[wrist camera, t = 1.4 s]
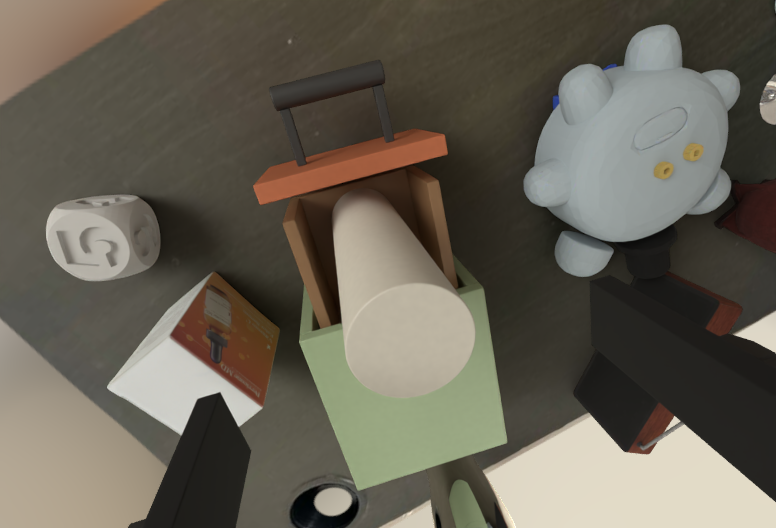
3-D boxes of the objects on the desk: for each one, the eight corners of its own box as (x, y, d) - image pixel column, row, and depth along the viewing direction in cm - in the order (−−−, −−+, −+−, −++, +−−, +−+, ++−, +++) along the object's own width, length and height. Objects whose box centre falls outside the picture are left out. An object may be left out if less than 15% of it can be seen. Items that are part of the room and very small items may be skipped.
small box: (281, 328, 36) (267, 409, 26) (236, 364, 36) (206, 456, 27) (213, 268, 33) (168, 334, 23) (166, 308, 33) (102, 390, 24)
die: (79, 196, 29) (34, 212, 24) (151, 192, 30) (120, 208, 25) (98, 258, 31) (60, 284, 26) (166, 254, 32) (140, 278, 27)
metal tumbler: (461, 407, 43) (528, 548, 29) (477, 449, 45) (545, 596, 32) (402, 431, 43) (442, 585, 29) (422, 471, 45) (467, 629, 32)
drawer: (244, 98, 28) (218, 94, 20) (401, 59, 28) (429, 41, 21) (322, 316, 35) (323, 371, 28) (445, 280, 36) (477, 324, 28)
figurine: (475, 105, 31) (538, 287, 41) (533, 118, 23) (592, 337, 33) (673, -7, 30) (688, 206, 40) (797, -30, 23) (777, 239, 32)
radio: (593, 397, 45) (712, 521, 32) (572, 393, 45) (684, 520, 31) (675, 251, 40) (863, 327, 26) (651, 245, 39) (833, 319, 25)
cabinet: (304, 281, 34) (298, 342, 25) (441, 241, 35) (483, 287, 26) (349, 405, 40) (357, 491, 31) (466, 369, 41) (507, 443, 32)
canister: (323, 197, 30) (327, 306, 13) (385, 180, 30) (465, 266, 14) (341, 256, 32) (364, 414, 15) (399, 239, 32) (484, 376, 16)
